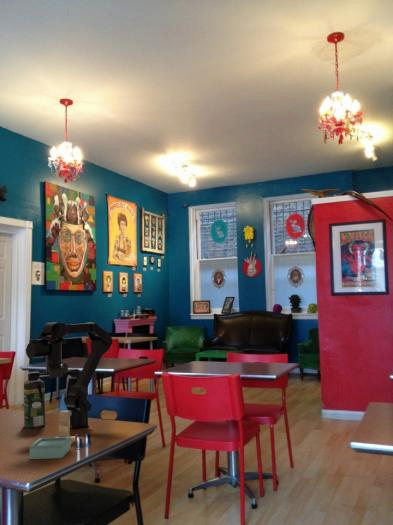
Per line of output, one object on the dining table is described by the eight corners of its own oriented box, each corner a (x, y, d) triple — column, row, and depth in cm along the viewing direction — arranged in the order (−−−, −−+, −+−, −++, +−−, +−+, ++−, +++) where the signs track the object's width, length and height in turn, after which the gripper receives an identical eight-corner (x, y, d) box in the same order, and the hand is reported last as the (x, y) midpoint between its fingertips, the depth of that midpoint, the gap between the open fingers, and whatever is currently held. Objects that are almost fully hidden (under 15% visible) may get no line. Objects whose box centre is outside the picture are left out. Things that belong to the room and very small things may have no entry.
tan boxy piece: (55, 440, 171) (55, 410, 172) (75, 439, 171) (75, 410, 172) (49, 446, 164) (48, 415, 165) (70, 445, 164) (69, 414, 165)
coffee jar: (22, 424, 197) (22, 378, 199) (42, 422, 201) (42, 376, 203) (25, 429, 189) (25, 381, 191) (46, 426, 192) (46, 379, 194)
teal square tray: (40, 449, 159) (40, 437, 160) (70, 448, 159) (70, 436, 159) (29, 459, 149) (29, 446, 150) (61, 457, 149) (61, 445, 150)
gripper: (29, 359, 172) (29, 404, 171) (82, 355, 179) (82, 398, 178) (27, 357, 183) (27, 399, 181) (77, 353, 190) (78, 394, 188)
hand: (54, 397), depth 182 cm, fingers open, 9 cm apart
